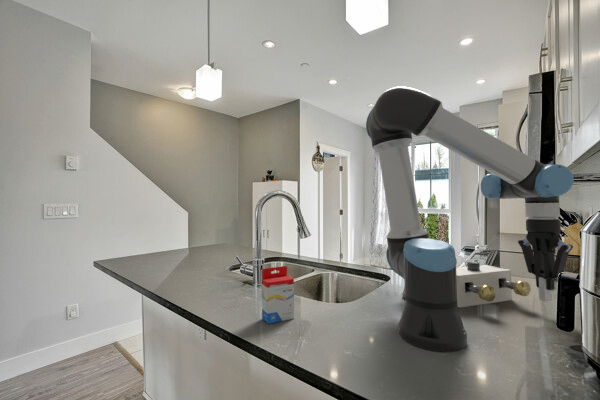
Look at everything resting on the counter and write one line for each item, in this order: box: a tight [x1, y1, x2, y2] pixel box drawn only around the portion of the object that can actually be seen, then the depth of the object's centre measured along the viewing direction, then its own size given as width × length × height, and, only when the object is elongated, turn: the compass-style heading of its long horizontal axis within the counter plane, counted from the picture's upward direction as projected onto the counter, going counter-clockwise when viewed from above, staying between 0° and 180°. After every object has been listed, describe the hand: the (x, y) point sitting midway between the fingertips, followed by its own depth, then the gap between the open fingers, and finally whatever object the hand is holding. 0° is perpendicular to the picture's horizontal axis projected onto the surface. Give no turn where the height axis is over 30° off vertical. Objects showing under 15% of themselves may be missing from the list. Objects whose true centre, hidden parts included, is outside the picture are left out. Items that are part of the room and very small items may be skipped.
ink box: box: [261, 265, 295, 325], centre depth 81 cm, size 8×5×15 cm, turn 117°
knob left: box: [465, 283, 496, 302], centre depth 85 cm, size 4×9×4 cm, turn 16°
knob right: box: [499, 279, 532, 297], centre depth 89 cm, size 4×9×4 cm, turn 16°
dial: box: [466, 261, 481, 271], centre depth 94 cm, size 4×4×3 cm
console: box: [456, 264, 513, 309], centre depth 94 cm, size 22×9×10 cm, turn 106°
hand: (545, 300), depth 80 cm, fingers closed
